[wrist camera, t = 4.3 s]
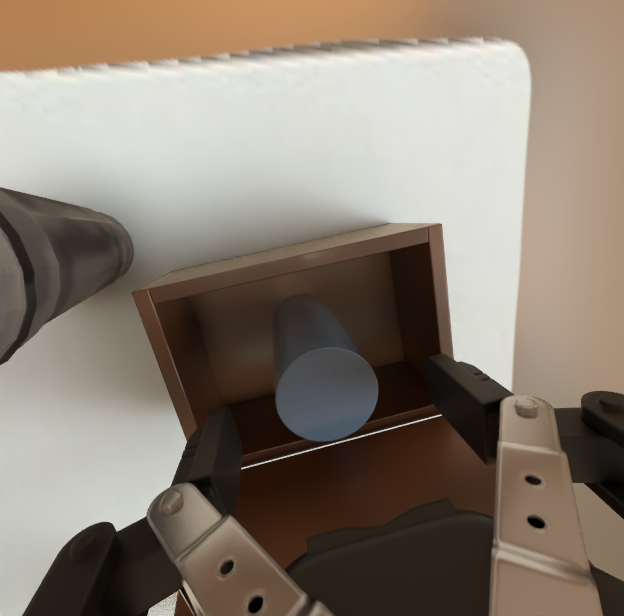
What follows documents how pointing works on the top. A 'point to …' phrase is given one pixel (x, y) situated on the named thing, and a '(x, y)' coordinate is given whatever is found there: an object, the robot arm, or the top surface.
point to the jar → (319, 372)
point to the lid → (358, 487)
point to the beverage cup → (52, 261)
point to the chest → (258, 327)
